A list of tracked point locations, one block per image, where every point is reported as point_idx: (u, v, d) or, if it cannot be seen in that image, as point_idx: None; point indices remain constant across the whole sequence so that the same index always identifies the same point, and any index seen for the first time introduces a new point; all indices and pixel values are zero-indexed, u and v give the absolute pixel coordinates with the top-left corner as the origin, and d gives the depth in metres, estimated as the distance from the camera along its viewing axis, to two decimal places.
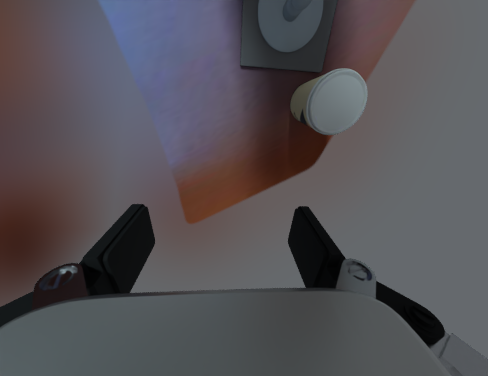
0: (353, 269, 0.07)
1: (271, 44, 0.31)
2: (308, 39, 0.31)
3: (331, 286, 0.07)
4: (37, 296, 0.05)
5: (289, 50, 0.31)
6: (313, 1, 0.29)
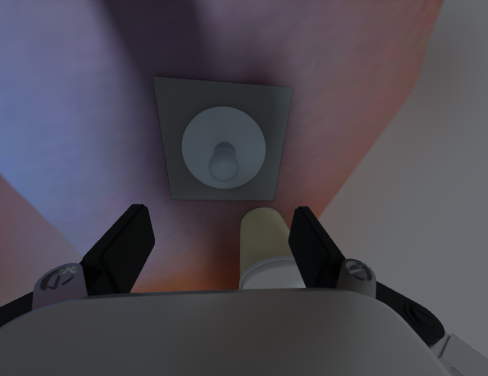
0: (353, 269, 0.07)
1: (205, 183, 0.25)
2: (251, 176, 0.25)
3: (331, 286, 0.07)
4: (37, 296, 0.05)
5: (228, 187, 0.25)
6: (252, 142, 0.23)
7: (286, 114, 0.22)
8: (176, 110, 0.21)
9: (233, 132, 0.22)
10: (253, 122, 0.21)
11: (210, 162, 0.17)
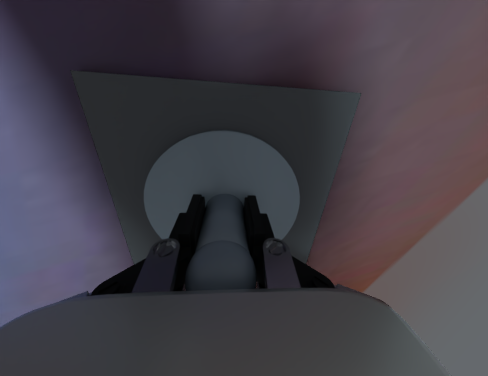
0: (272, 248, 0.08)
1: None
2: None
3: (255, 262, 0.08)
4: (157, 260, 0.07)
5: None
6: (276, 194, 0.12)
7: (341, 143, 0.12)
8: (130, 139, 0.11)
9: (241, 177, 0.11)
10: (280, 160, 0.11)
11: (188, 278, 0.07)
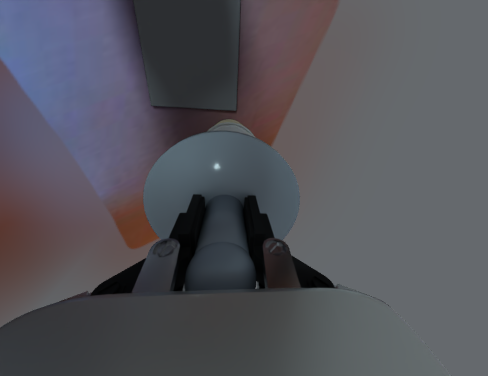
0: (272, 248, 0.08)
1: None
2: None
3: (255, 262, 0.08)
4: (156, 260, 0.07)
5: None
6: (276, 195, 0.12)
7: (238, 22, 0.28)
8: (150, 16, 0.27)
9: (241, 178, 0.11)
10: (280, 160, 0.11)
11: (187, 280, 0.07)
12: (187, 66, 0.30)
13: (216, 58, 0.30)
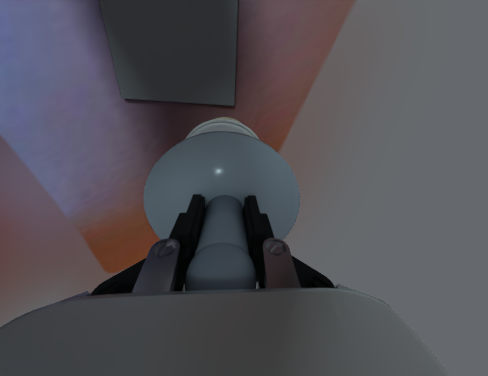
0: (272, 248, 0.08)
1: None
2: None
3: (255, 262, 0.08)
4: (157, 260, 0.07)
5: None
6: (276, 195, 0.12)
7: None
8: None
9: (241, 179, 0.11)
10: (280, 161, 0.11)
11: (188, 280, 0.07)
12: (168, 44, 0.22)
13: (207, 33, 0.22)
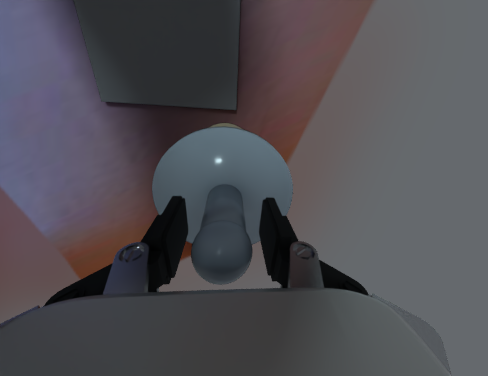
0: (299, 251, 0.08)
1: None
2: None
3: (281, 266, 0.08)
4: (120, 266, 0.07)
5: None
6: (271, 184, 0.14)
7: None
8: None
9: (239, 169, 0.13)
10: (274, 153, 0.12)
11: (194, 249, 0.08)
12: (155, 36, 0.18)
13: (203, 22, 0.18)
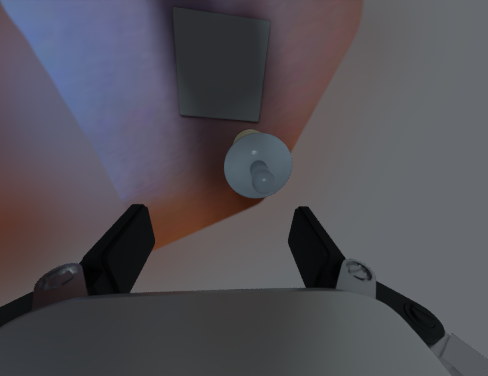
0: (353, 269, 0.07)
1: (239, 193, 0.30)
2: (278, 188, 0.30)
3: (331, 286, 0.07)
4: (37, 296, 0.05)
5: (258, 197, 0.30)
6: (281, 161, 0.28)
7: (266, 43, 0.30)
8: (187, 35, 0.29)
9: (267, 153, 0.27)
10: (284, 145, 0.26)
11: (255, 178, 0.22)
12: (216, 80, 0.32)
13: (244, 73, 0.32)
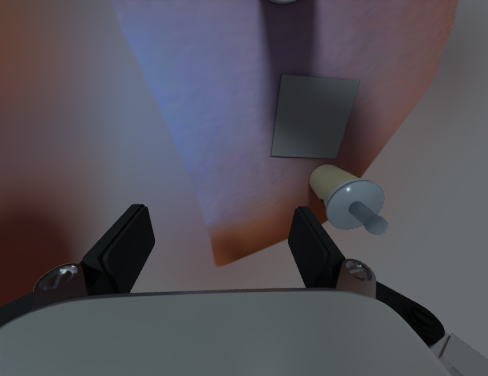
0: (353, 269, 0.07)
1: (335, 226, 0.35)
2: None
3: (331, 286, 0.07)
4: (37, 296, 0.05)
5: (349, 228, 0.36)
6: (375, 201, 0.33)
7: (354, 97, 0.36)
8: (290, 94, 0.35)
9: (365, 195, 0.32)
10: (380, 189, 0.32)
11: (372, 223, 0.28)
12: (307, 127, 0.38)
13: (331, 121, 0.38)
